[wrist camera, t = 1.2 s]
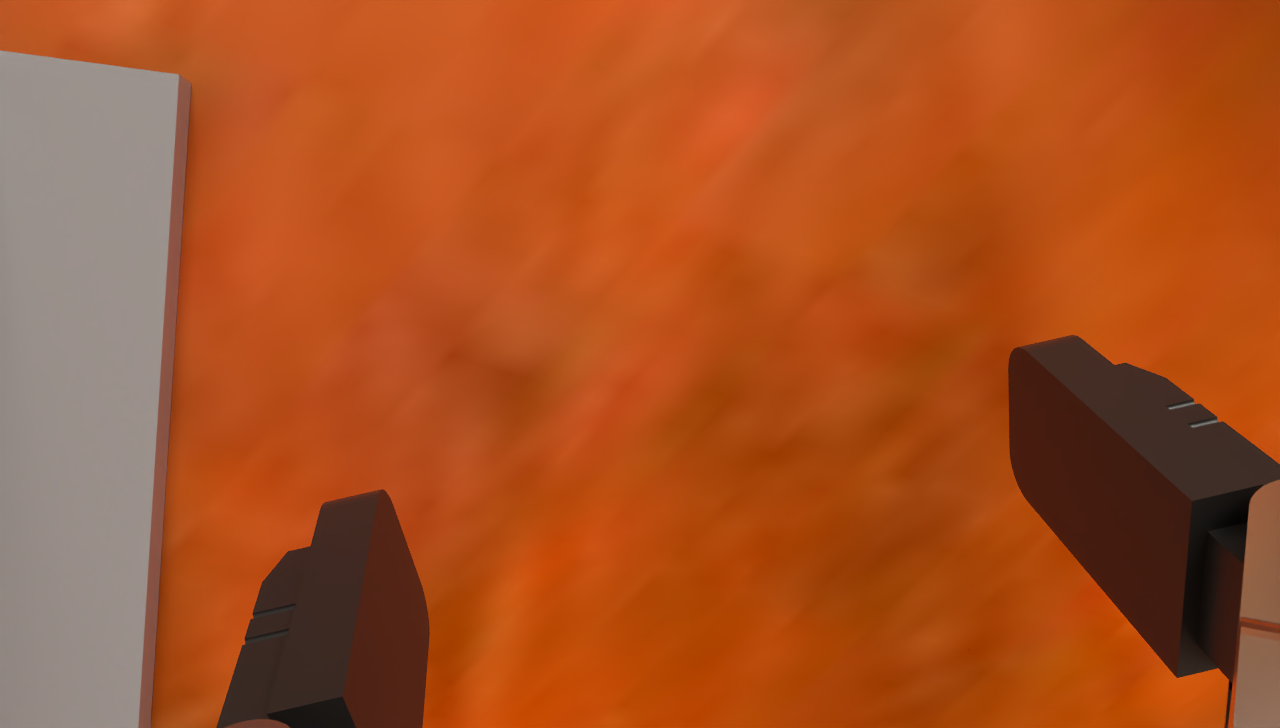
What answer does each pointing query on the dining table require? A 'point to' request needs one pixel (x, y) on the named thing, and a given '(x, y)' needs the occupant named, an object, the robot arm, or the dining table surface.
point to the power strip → (85, 382)
